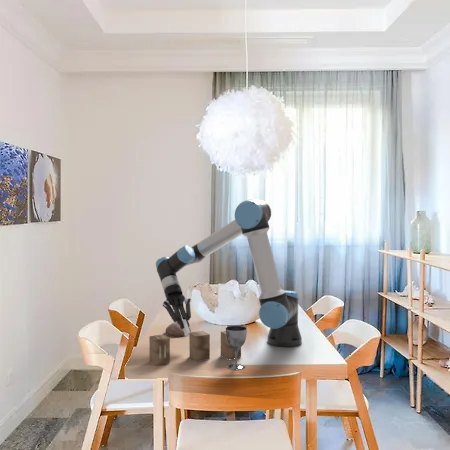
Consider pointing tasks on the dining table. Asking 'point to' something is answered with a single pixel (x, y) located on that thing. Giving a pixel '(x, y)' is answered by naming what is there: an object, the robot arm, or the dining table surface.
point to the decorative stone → (175, 330)
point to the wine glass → (236, 342)
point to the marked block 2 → (227, 348)
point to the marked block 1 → (159, 349)
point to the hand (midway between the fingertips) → (187, 334)
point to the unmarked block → (199, 345)
